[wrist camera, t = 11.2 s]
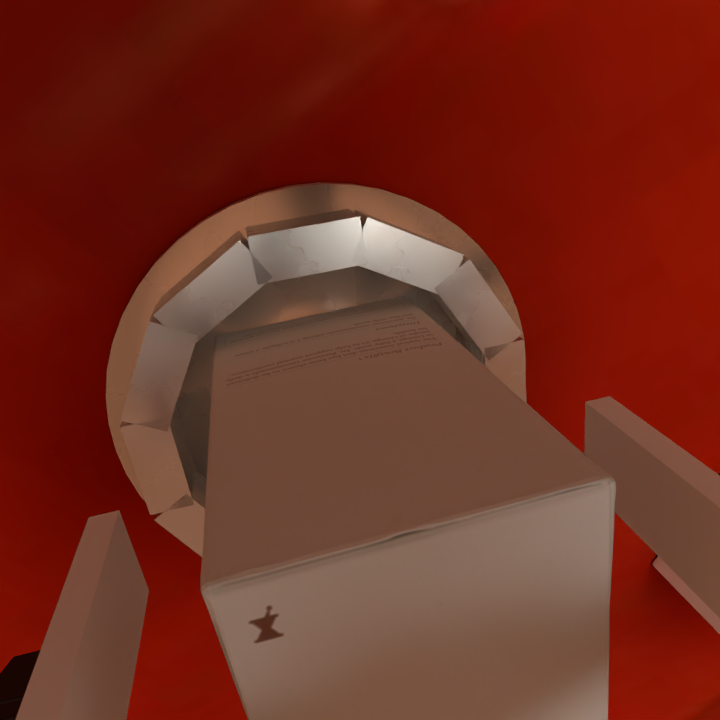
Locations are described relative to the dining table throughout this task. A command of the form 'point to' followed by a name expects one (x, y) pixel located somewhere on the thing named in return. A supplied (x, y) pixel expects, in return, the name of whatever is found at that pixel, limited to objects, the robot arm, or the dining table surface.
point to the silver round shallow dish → (282, 315)
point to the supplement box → (398, 530)
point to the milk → (687, 593)
